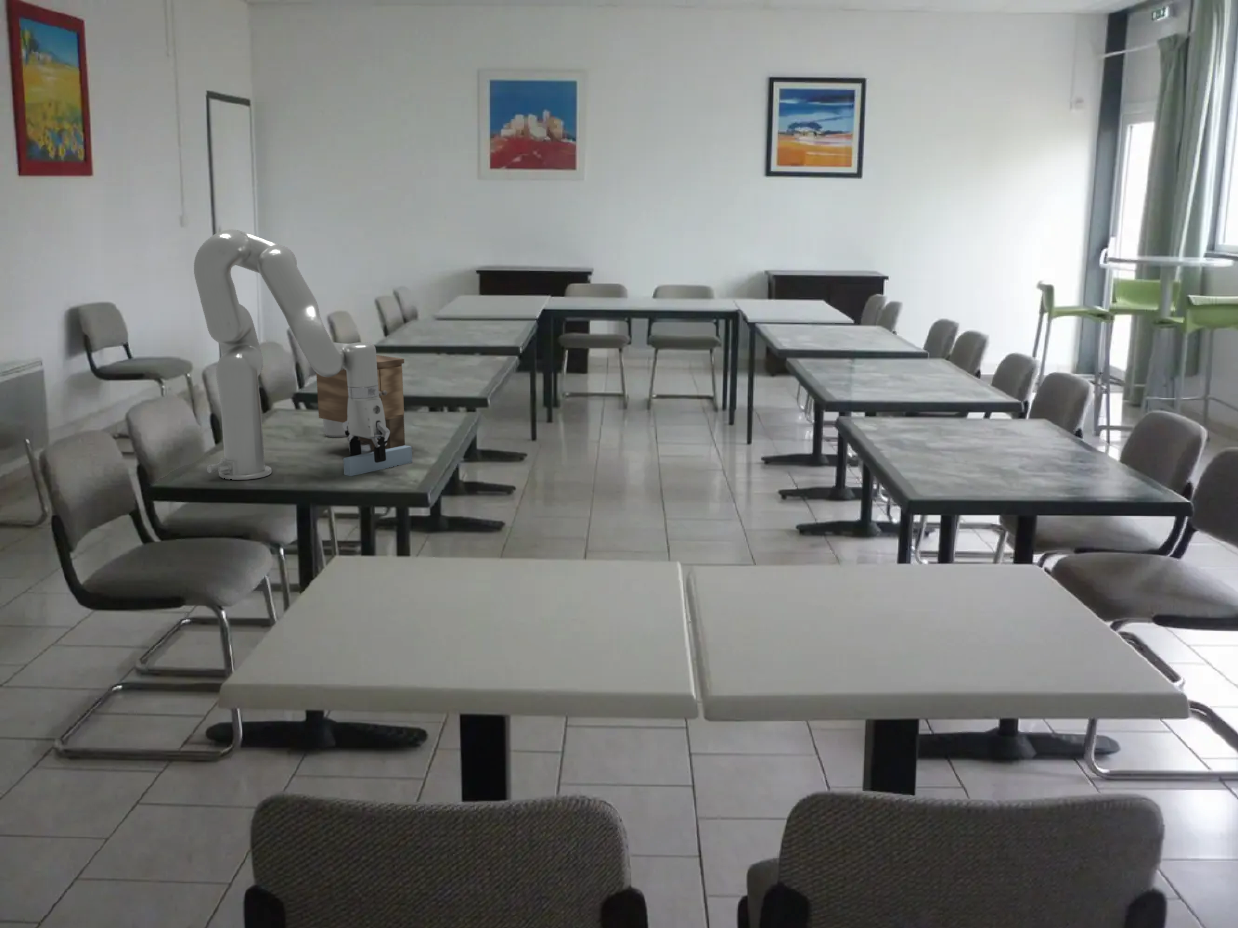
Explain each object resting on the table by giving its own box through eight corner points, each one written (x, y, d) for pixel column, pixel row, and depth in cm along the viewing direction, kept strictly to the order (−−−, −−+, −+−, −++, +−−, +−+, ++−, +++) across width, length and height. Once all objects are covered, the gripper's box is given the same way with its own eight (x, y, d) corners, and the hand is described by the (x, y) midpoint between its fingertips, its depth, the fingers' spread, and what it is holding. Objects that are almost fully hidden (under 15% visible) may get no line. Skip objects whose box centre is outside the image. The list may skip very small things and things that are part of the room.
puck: (359, 459, 326) (358, 446, 326) (344, 456, 330) (344, 443, 329) (377, 455, 331) (376, 443, 330) (362, 452, 335) (362, 440, 334)
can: (354, 433, 360) (352, 392, 357) (346, 438, 352) (343, 397, 350) (329, 432, 360) (326, 392, 358) (320, 437, 353) (318, 396, 350)
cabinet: (360, 462, 323) (356, 366, 317) (318, 452, 334) (312, 359, 329) (411, 451, 335) (407, 359, 330) (368, 442, 347) (363, 353, 341)
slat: (350, 477, 308) (349, 459, 307) (344, 475, 309) (343, 458, 308) (412, 463, 323) (411, 446, 322) (406, 462, 324) (405, 445, 323)
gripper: (397, 393, 306) (401, 460, 310) (353, 387, 317) (358, 452, 320) (373, 398, 300) (378, 466, 304) (329, 391, 311) (334, 457, 315)
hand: (368, 459), depth 312 cm, fingers open, 9 cm apart
